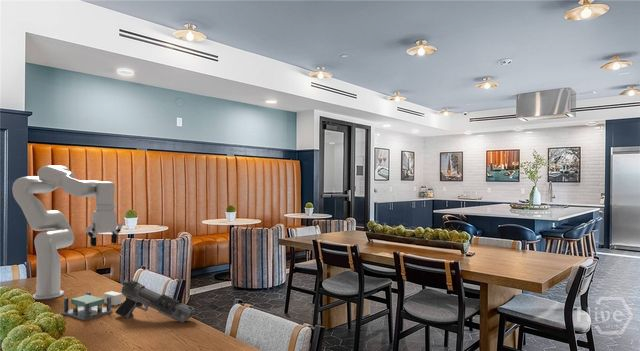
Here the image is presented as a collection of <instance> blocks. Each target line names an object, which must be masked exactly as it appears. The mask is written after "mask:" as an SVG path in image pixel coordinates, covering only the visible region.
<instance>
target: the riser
mask: <svg viewBox="0 0 640 351" xmlns="http://www.w3.org/2000/svg"><path fill="white" fill-rule="evenodd" d="M102 294H103V296H102V298H103V299H104V304H105V303H106V304H105V305H107V297H111V306H113V305H114V307H115V306H118V304H119V305H122V304H121V303H123V294H122V293H121V292H117V291H114V290H113V291H112V290H111V291H107V292H104V293H102Z"/></svg>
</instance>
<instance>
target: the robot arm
mask: <svg viewBox="0 0 640 351" xmlns="http://www.w3.org/2000/svg"><path fill="white" fill-rule="evenodd" d="M115 186H116V184H115V183H114V182H112V181H101V180H80V179H77V178H76V175H75V174H74V173H73V172H71V170H70V169H69V167H66V166H64V165H44V166H41V167H40V168H39V169H38V170H37V176H36V175H33V176H32V175H31V176H30V175H27V176H22V177H19V178H16V179H15V180H14V182H13V184H12V195H13V196H12V197H13V198H14V200H15V202H16V203H17V204H18V206H19V207H20V208H21V210H22V212H23V215H24V216H25V219H26V221H27V223H28V225H29V227H30V228H31V229H32V230H33V231H36V232H37V231H38V232H39V233H37V235H36V236H35V238H34V239H33V240H34V241H33V243H34V248H35V252H36V287H35V290H36V292H35V293H34V294H32V297H33V298H34V299H33V298H32V299H33V300H49V299H50V300H51V299H56V298H59V297H61V296H62V297H63V295H64V294H65V291H64V290H62V289H61V265H62V264H61V263H62V262H61V255H60V254H59V252H58V250H59V249H64V248H68V247H70V246H71V245H73V244H74V241H75V235H74V232H73V229H72V228H71V225H70V224H69V222H68V219H67V217H66V216H65V214H64V213H63V212H61V211H60V210H55V209H53V210H47V209H46V208H45V206H44V205H43V202H42V201H41V200H40V199H39V198H38V197H37V196H36V195H34V194H48V193H51V192H53V191H55V190H57V189H58V188H60V189H61V190H62V191H63V192H64V193H66V194H69V195H70V196H74V197H79V198H87V197H88V198H89V197H92V198H93V197H95V210H94V211H93V212H92V213H93V214H92V217H91V222H90V225H89V226H87V227H85V228H84V231H85V232H86V235H87V236H88V237H89V238H90V241H89V242H90V246H91V247H96V246H97V235H98V234H103V233H112V234H111V238H110V240H111V242H110V243H111V244H114V245H115V244H117V242H118V235H119V233H120V232H121V230H122V228H123V225H122V224H121V223H118V222H117V214H116V213H117V212H116V210H115V209H116V208H117V205H116V204H115V190H116V189H115V188H116V187H115Z"/></svg>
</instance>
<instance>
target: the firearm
mask: <svg viewBox="0 0 640 351" xmlns="http://www.w3.org/2000/svg"><path fill="white" fill-rule="evenodd" d="M122 282H123V286H122V287H121V292H120V293H122V296H123V297H125V300H124V301H122V304H120V306H119V307H118V308H117V309H116V310H115V311H114V314H116V315H118V316H120V317H123V318H124V319H128V320H129V319H130V318H132V317H134V314H133V312H134V310H136V308H137V309H140V310H142V311H144V312H147V311H148V310H149V307H150V308H152V309H154V310H155V311H158V313H160V314H161V315H164V316H166V317H168V318H171V319H172V320H175V321H176V322H179V323H181V324H183V323H185V322H186V321H188V320H189V319H190V318H192V317H193V316H194V314H195V311H196V309H195V307H193V306H190V305H188V304H185V303H180V300H178V299H176V298H174V297H170V296H169V295H168V294H167V295H166V294H165V293H164V294H160V293H158V292H156V291H154V290H151V289H149V288H147V287H146V286H145V285H143V284H141V283H140V282H138V280H136V281H135V280H133V279H132V280H129V281H127V280H123V281H122Z"/></svg>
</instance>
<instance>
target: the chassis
mask: <svg viewBox="0 0 640 351" xmlns="http://www.w3.org/2000/svg"><path fill="white" fill-rule="evenodd" d="M91 294H92V292H91V291H88V292H86V294H85V295H91ZM91 296H92V295H91ZM69 299H70V298H69V297H64V298H63V311H62V312H61V315H64V316H68V317H72V318H75V319H78V320H81V321H88V320H92V319H94V318H98V317H101V316H104V314H105V315H108V314H111V313H113V311H114V310H113V309H112V305H111V297H107V304H106V307H104V306H103V304H101V305H97V306H94V307H90V308H89V303H85V304H84V307H82V306H78V305H75V304H72V308H71V309H69Z"/></svg>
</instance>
